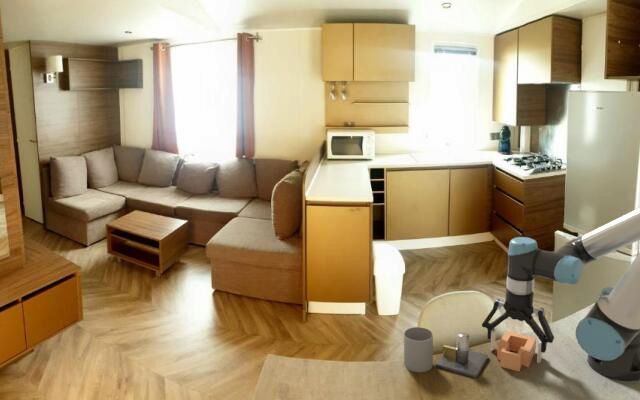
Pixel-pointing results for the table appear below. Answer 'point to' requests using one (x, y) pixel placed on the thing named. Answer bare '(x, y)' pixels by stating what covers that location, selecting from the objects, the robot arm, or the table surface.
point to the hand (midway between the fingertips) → (515, 354)
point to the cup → (418, 349)
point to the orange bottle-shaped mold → (518, 344)
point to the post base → (464, 367)
